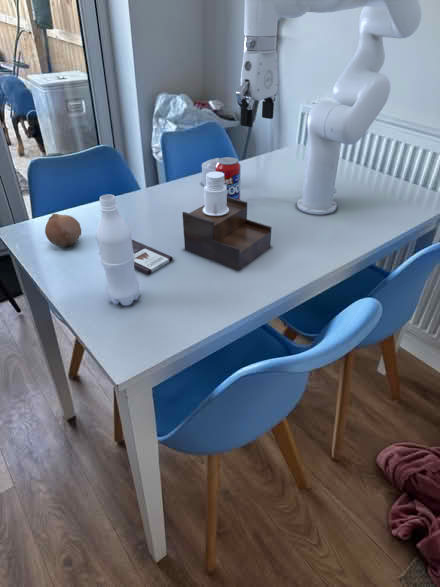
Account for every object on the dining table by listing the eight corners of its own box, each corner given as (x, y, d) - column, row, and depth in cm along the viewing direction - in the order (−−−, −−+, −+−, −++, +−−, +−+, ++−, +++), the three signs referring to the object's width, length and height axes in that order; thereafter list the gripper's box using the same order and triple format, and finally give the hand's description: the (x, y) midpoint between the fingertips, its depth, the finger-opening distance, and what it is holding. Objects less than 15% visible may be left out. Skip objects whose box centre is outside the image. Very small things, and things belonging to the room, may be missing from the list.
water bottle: (111, 291, 101) (91, 190, 86) (141, 289, 101) (127, 189, 87) (107, 309, 95) (85, 205, 80) (139, 307, 95) (123, 203, 81)
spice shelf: (218, 229, 126) (218, 193, 119) (270, 247, 117) (272, 209, 110) (184, 250, 116) (182, 212, 110) (238, 271, 107) (238, 231, 101)
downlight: (229, 217, 109) (229, 180, 104) (201, 217, 110) (200, 180, 104) (228, 205, 116) (228, 169, 110) (203, 205, 116) (201, 169, 110)
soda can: (227, 198, 144) (227, 154, 136) (244, 205, 140) (245, 160, 131) (211, 205, 140) (210, 160, 131) (228, 212, 135) (228, 166, 127)
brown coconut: (58, 251, 122) (39, 219, 119) (88, 237, 124) (70, 205, 121) (54, 256, 114) (35, 222, 110) (87, 241, 115) (68, 206, 112)
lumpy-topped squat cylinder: (220, 176, 161) (220, 153, 156) (243, 186, 153) (243, 162, 148) (198, 183, 156) (197, 159, 151) (220, 193, 148) (220, 169, 143)
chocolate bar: (126, 237, 120) (172, 256, 111) (127, 240, 121) (172, 260, 112) (101, 249, 115) (147, 271, 105) (101, 252, 115) (147, 274, 106)
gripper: (252, 49, 91) (250, 132, 101) (292, 42, 102) (287, 117, 112) (224, 47, 95) (225, 127, 105) (266, 40, 106) (263, 113, 116)
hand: (257, 122), depth 108 cm, fingers open, 9 cm apart
